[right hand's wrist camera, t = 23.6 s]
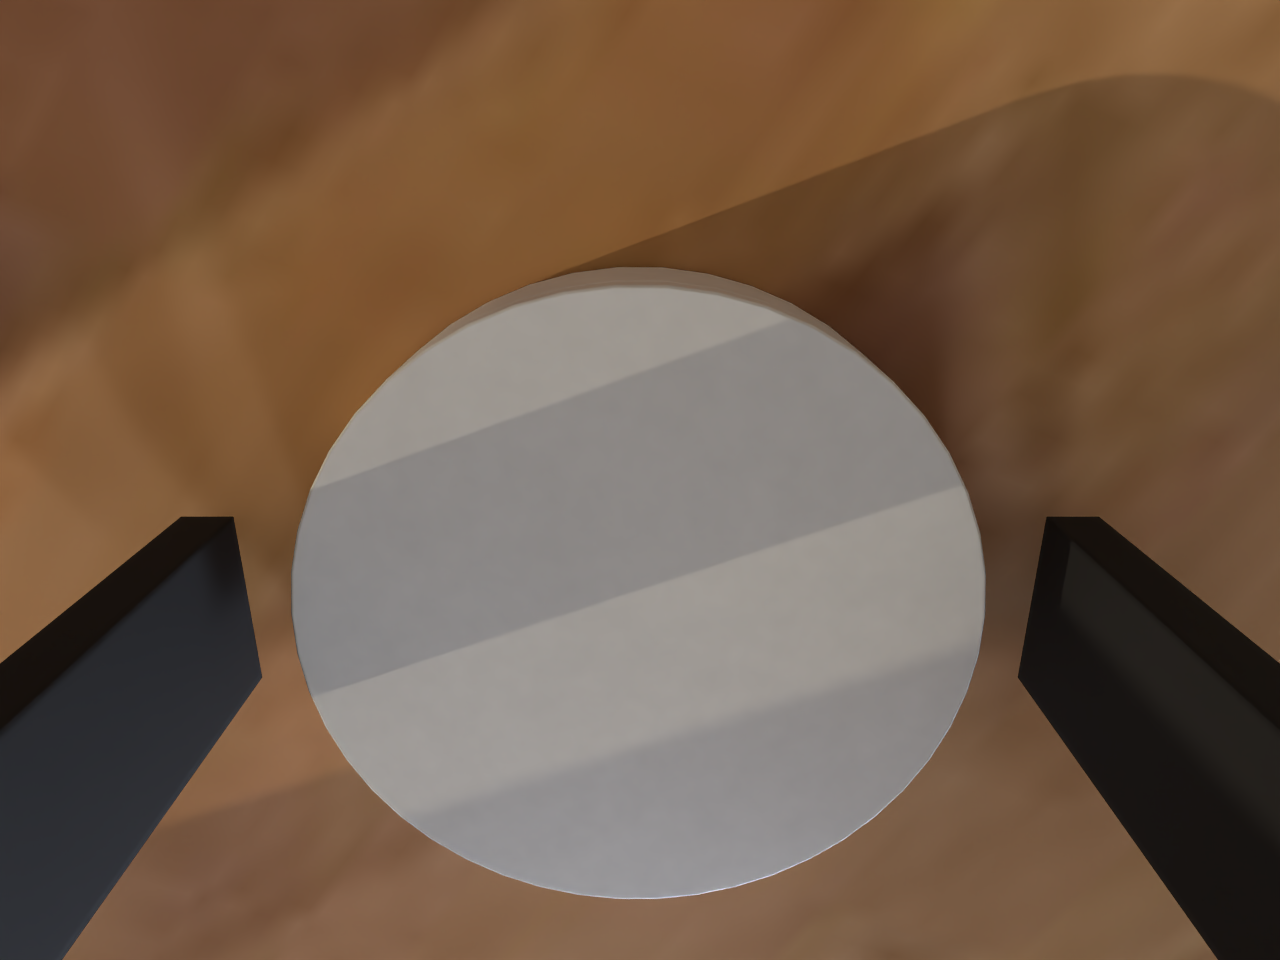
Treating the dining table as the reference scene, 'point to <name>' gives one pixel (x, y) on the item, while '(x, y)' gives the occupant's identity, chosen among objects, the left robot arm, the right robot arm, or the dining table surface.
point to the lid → (638, 586)
